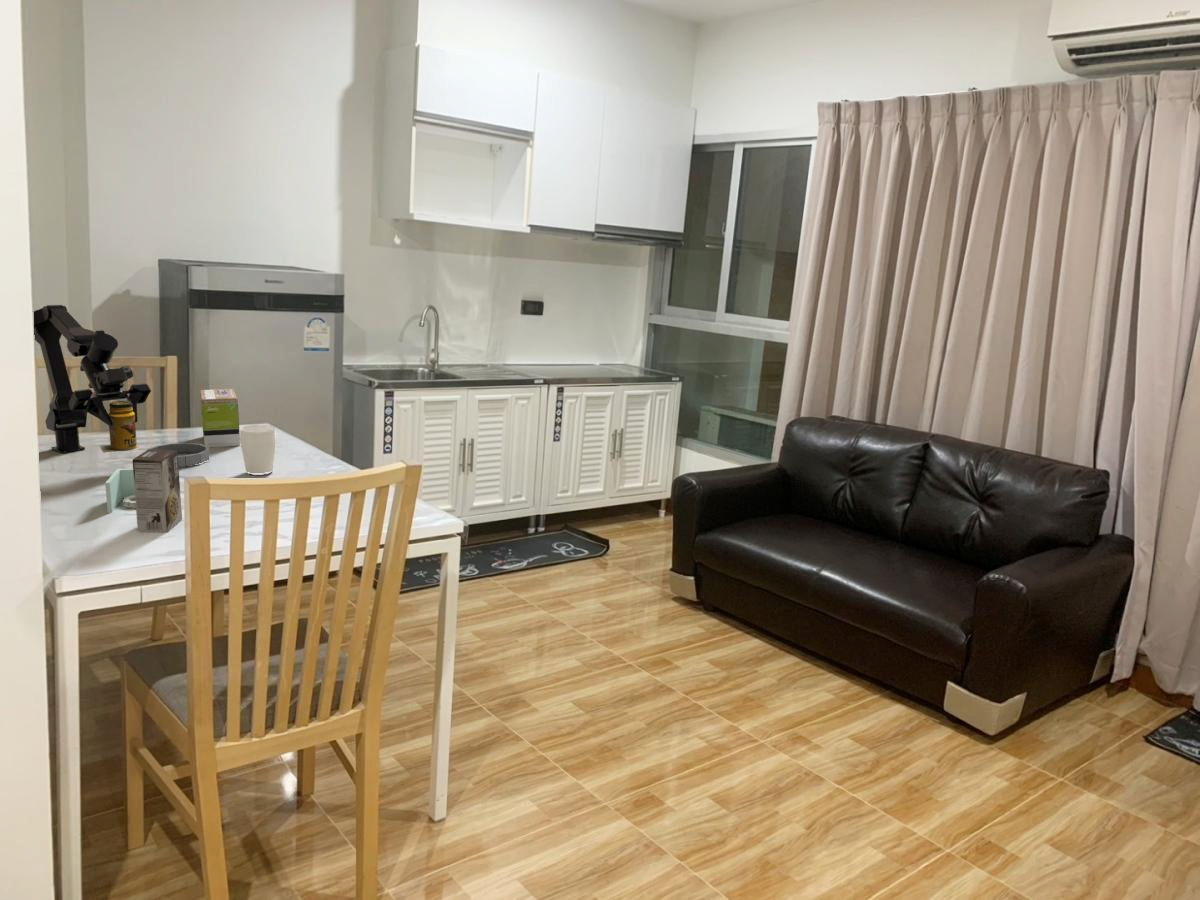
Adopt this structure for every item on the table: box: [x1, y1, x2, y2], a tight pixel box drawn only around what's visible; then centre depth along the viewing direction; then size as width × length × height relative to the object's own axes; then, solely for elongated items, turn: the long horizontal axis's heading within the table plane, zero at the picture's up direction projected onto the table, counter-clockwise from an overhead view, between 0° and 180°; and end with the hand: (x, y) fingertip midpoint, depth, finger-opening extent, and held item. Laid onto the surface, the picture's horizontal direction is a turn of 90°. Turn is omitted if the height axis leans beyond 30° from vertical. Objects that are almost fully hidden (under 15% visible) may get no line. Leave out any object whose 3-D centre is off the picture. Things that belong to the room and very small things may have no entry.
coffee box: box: [132, 448, 183, 534], centre depth 197 cm, size 9×6×16 cm
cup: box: [239, 424, 277, 473], centre depth 242 cm, size 9×9×12 cm
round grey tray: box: [146, 442, 210, 468], centre depth 251 cm, size 16×16×3 cm
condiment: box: [99, 400, 141, 453], centre depth 234 cm, size 7×8×12 cm
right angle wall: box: [104, 468, 136, 513], centre depth 212 cm, size 12×12×8 cm
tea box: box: [199, 388, 241, 448], centre depth 273 cm, size 15×10×15 cm
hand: (123, 423), depth 233 cm, fingers closed on condiment, 6 cm apart
